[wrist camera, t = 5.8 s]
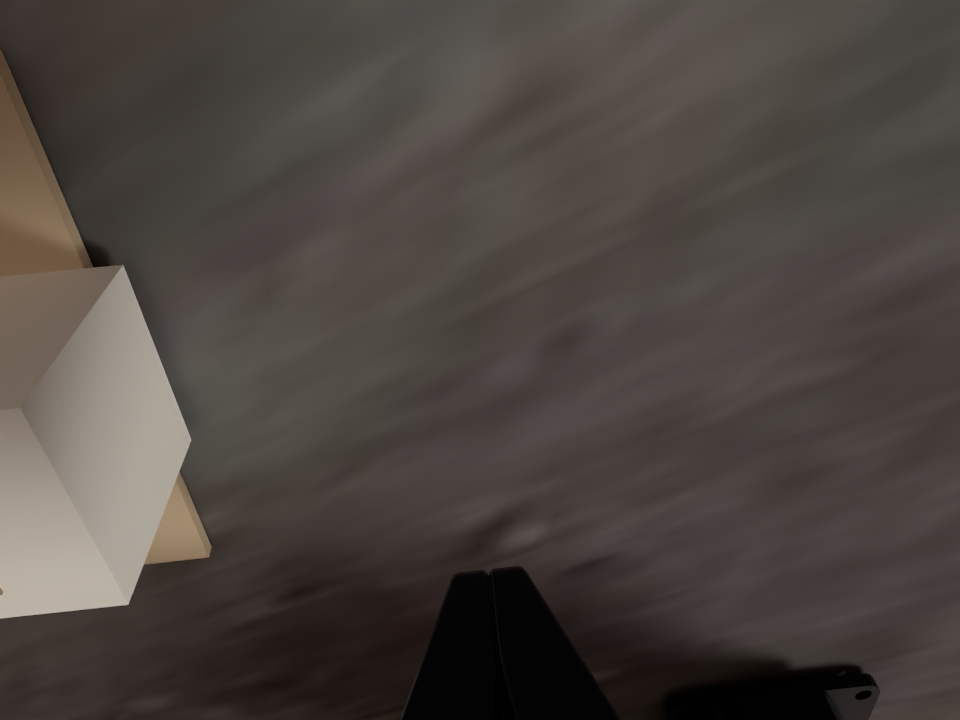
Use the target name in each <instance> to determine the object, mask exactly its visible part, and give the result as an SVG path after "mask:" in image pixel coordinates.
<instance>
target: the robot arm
mask: <svg viewBox="0 0 960 720" xmlns="http://www.w3.org/2000/svg"><path fill="white" fill-rule="evenodd" d="M489 581H490V586H489ZM490 591H491V595H490ZM491 600H492V604H491ZM492 610H493V614H492ZM493 619H494V623H493ZM494 628H495V632H494ZM495 638H496V642H495ZM496 647H497V651H496ZM497 656H498V660H497ZM498 666H499V670H498ZM499 675H500V679H499ZM500 684H501V688H500ZM501 694H502V698H501ZM879 694H880V689H879V687H878V686H877V684H876V682H875V680H874V679H873V677H872V676H871V675H869V674H852V675H843V676H835V677H826V678H817V679H809V680H800V681H791V682H783V683H774V684H765V685H756V686H748V687H739V688H730V689H722V690H713V691H704V692H696V693H687V694H679V695H675V696H672V697H670V698H668V699H667V700H666V701H665V702H664V703H663V706H662V714H661V720H868V719H869V717H870V715H871V712H872V710H873V708H874V705H875V703H876V701H877V698H878V696H879ZM502 703H503V707H502ZM503 712H504V717H503ZM399 720H621V719H620V717H619V715H618V714H617V712H616V711H615V709H614V708H613V706H612V704H611V703H610V701H609V700H608V698H607V697H606V695H605V694H604V692H603V690H602V689H601V687H600V686H599V684H598V683H597V681H596V679H595V678H594V676H593V675H592V673H591V672H590V670H589V669H588V667H587V665H586V664H585V662H584V661H583V659H582V658H581V656H580V654H579V653H578V651H577V650H576V648H575V647H574V645H573V644H572V642H571V640H570V639H569V637H568V636H567V634H566V633H565V631H564V629H563V628H562V626H561V625H560V623H559V622H558V620H557V619H556V617H555V615H554V614H553V612H552V611H551V609H550V608H549V606H548V604H547V603H546V601H545V600H544V598H543V597H542V595H541V594H540V592H539V590H538V589H537V587H536V586H535V584H534V583H533V581H532V579H531V578H530V576H529V575H528V573H527V572H526V571H525V570H524V569H523V568H522V567H520V566H514V567H505V568H496V569H493V570H491V571H490V573H489V576H488V574H487V572H485V571H483V570H478V571H469V572H460V573H456V574H455V575H454V576H453V577H452V579H451V581H450V584H449V586H448V589H447V592H446V594H445V597H444V600H443V603H442V605H441V608H440V611H439V613H438V616H437V619H436V621H435V624H434V627H433V630H432V632H431V635H430V638H429V640H428V643H427V646H426V648H425V651H424V654H423V657H422V659H421V662H420V665H419V667H418V670H417V673H416V675H415V678H414V681H413V684H412V686H411V689H410V692H409V694H408V697H407V700H406V702H405V705H404V708H403V711H402V713H401V716H400V719H399Z"/></svg>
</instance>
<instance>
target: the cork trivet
mask: <svg viewBox="0 0 960 720" xmlns="http://www.w3.org/2000/svg"><path fill="white" fill-rule="evenodd" d="M84 268H93V265H92V263H91V260H90V258H89V256H88V253H87V251H86V249H85V246H84V244H83V242H82V239H81V237H80V234H79V232H78V230H77V227H76V225H75V223H74V220H73V218H72V216H71V213H70V211H69V208H68V206H67V204H66V201H65V199H64V197H63V194H62V192H61V190H60V187H59V185H58V182H57V180H56V178H55V175H54V173H53V171H52V168H51V166H50V164H49V161H48V159H47V156H46V154H45V152H44V149H43V147H42V145H41V142H40V140H39V138H38V135H37V133H36V130H35V128H34V126H33V123H32V121H31V119H30V116H29V114H28V111H27V109H26V107H25V104H24V102H23V100H22V97H21V95H20V93H19V90H18V88H17V85H16V83H15V81H14V78H13V76H12V74H11V71H10V69H9V67H8V64H7V62H6V59H5V57H4V55H3V52H2V50H0V277H1V276H12V275H22V274H32V273H43V272H53V271H63V270H74V269H84ZM211 548H212V547H211V544H210V542H209V540H208V537H207V535H206V533H205V530H204V528H203V525H202V523H201V521H200V518H199V516H198V514H197V511H196V509H195V506H194V504H193V502H192V499H191V497H190V495H189V492H188V490H187V488H186V485H185V483H184V480H183V478H182V476H181V473H180V471H179V474H178V476H177V479H176V481H175V484H174V487H173V489H172V492H171V495H170V497H169V500H168V502H167V505H166V508H165V510H164V513H163V515H162V518H161V521H160V523H159V526H158V529H157V531H156V534H155V536H154V539H153V542H152V544H151V547H150V549H149V552H148V555H147V557H146V560H145V563H144V564H154V563H163V562H172V561H181V560H190V559H199V558H208V557H209V555H210V552H211Z"/></svg>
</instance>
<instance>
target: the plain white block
mask: <svg viewBox="0 0 960 720" xmlns="http://www.w3.org/2000/svg"><path fill="white" fill-rule="evenodd" d="M190 442H191V438H190V435H189V433H188V430H187V427H186V425H185V422H184V420H183V417H182V415H181V412H180V409H179V407H178V404H177V402H176V399H175V397H174V394H173V391H172V389H171V386H170V384H169V381H168V379H167V376H166V374H165V371H164V368H163V366H162V363H161V361H160V358H159V356H158V353H157V350H156V348H155V345H154V343H153V340H152V338H151V335H150V332H149V330H148V327H147V325H146V322H145V320H144V317H143V315H142V312H141V309H140V307H139V304H138V302H137V299H136V297H135V294H134V291H133V289H132V286H131V284H130V281H129V279H128V276H127V273H126V271H125V268H124V266H123V265H115V266H105V267H94V268H84V269H74V270H63V271H53V272H43V273H32V274H22V275H12V276H1V277H0V618H10V617H19V616H28V615H38V614H47V613H56V612H65V611H75V610H84V609H93V608H103V607H112V606H121V605H128V604H129V602H130V599H131V596H132V594H133V591H134V589H135V586H136V583H137V581H138V578H139V576H140V573H141V570H142V568H143V565H144V563H145V560H146V557H147V555H148V552H149V549H150V547H151V544H152V542H153V539H154V536H155V534H156V531H157V529H158V526H159V523H160V521H161V518H162V515H163V513H164V510H165V508H166V505H167V502H168V500H169V497H170V495H171V492H172V489H173V487H174V484H175V481H176V479H177V476H178V474H179V471H180V468H181V466H182V463H183V461H184V458H185V455H186V453H187V450H188V447H189V445H190Z"/></svg>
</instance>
